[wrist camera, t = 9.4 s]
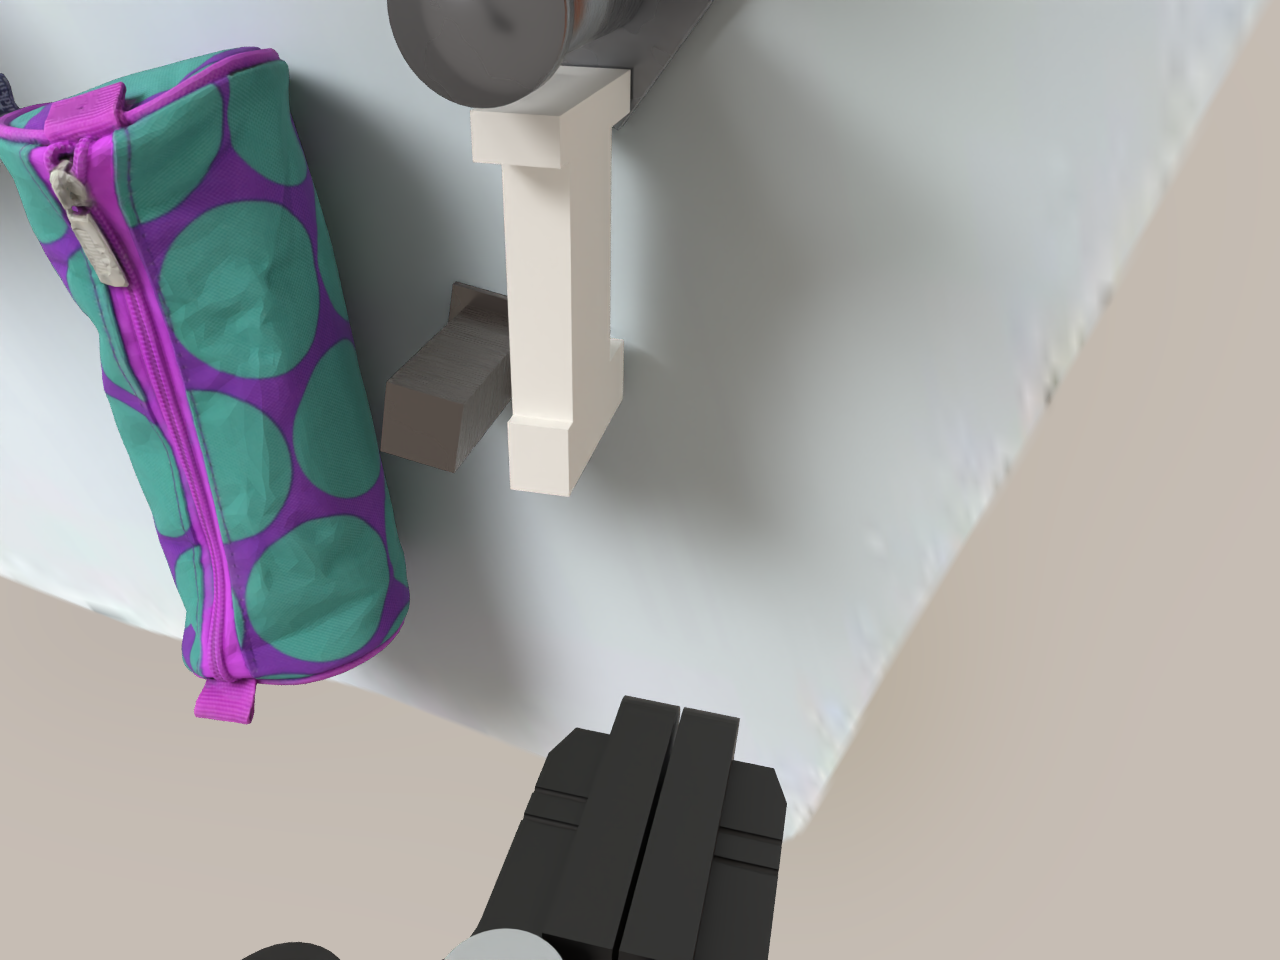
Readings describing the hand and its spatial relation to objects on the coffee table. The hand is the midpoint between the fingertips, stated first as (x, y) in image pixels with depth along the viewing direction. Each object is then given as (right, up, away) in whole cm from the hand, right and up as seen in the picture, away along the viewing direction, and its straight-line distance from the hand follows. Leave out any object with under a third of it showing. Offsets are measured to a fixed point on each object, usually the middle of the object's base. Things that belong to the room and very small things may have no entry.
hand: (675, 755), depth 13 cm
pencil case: (-13, +9, +26) cm, 30 cm away
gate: (-2, +11, +21) cm, 23 cm away
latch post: (-6, +8, +24) cm, 26 cm away
